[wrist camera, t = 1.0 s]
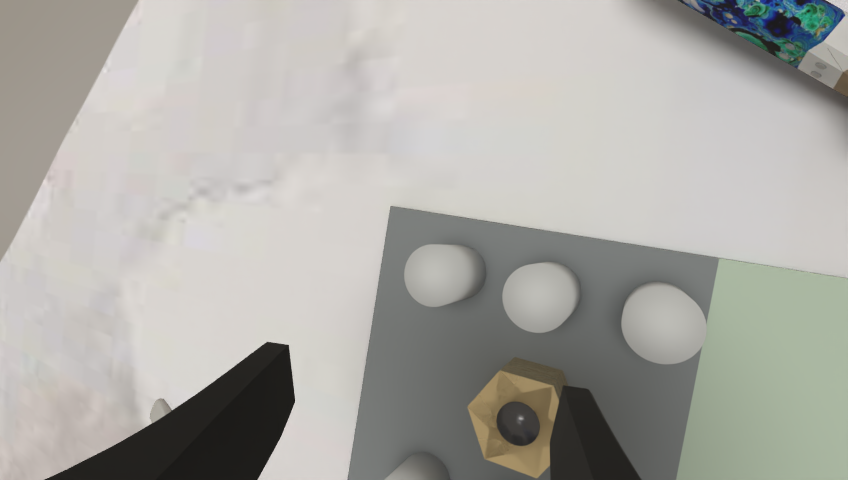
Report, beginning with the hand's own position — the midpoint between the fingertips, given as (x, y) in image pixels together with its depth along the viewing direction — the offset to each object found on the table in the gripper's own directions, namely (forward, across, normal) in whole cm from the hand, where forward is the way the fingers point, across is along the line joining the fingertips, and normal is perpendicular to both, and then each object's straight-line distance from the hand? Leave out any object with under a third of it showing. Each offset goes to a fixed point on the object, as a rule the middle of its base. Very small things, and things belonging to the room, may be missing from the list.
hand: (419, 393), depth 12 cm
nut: (+10, -4, +9) cm, 14 cm away
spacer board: (+9, -8, +9) cm, 15 cm away
